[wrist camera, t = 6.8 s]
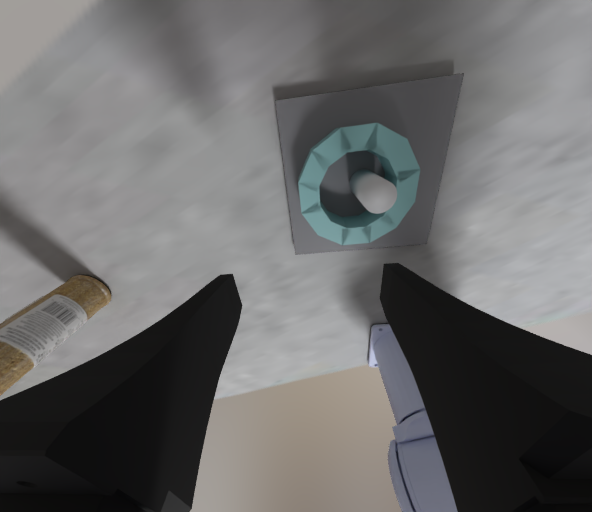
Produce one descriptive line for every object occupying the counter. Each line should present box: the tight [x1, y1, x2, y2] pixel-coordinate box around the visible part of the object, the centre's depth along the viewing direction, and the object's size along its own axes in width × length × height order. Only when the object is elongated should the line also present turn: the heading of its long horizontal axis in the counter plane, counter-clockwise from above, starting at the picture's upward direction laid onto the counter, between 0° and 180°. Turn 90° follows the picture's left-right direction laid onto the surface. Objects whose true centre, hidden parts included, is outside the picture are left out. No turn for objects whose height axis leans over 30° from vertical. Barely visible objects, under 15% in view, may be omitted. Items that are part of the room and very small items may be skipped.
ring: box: [298, 123, 420, 245], centre depth 16 cm, size 8×8×2 cm
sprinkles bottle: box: [0, 275, 111, 396], centre depth 19 cm, size 5×5×13 cm
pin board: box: [275, 73, 464, 255], centre depth 15 cm, size 12×12×6 cm
